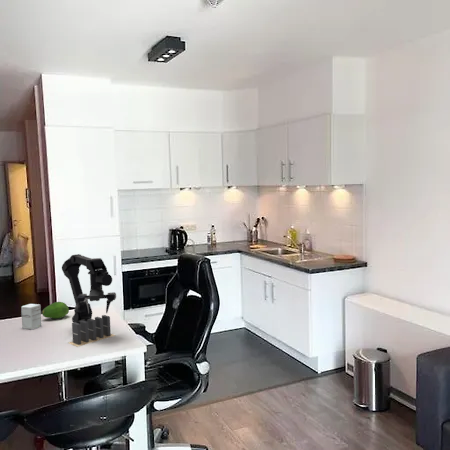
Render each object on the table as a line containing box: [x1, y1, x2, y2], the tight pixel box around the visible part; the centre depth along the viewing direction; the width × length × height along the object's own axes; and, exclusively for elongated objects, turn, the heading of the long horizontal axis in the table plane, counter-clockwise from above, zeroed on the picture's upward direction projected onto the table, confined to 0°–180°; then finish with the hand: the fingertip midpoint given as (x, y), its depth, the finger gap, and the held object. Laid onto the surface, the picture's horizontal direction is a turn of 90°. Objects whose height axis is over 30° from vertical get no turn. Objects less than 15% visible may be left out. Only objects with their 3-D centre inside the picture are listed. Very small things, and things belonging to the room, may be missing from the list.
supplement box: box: [20, 303, 42, 330], centre depth 259 cm, size 7×7×13 cm
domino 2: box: [80, 320, 89, 343], centre depth 231 cm, size 2×5×10 cm, turn 47°
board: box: [68, 333, 117, 348], centre depth 235 cm, size 22×9×1 cm, turn 137°
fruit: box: [41, 301, 70, 320], centre depth 276 cm, size 15×10×10 cm, turn 120°
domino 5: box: [101, 314, 112, 336], centre depth 240 cm, size 2×5×10 cm, turn 47°
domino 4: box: [94, 316, 104, 338], centre depth 237 cm, size 2×5×10 cm, turn 47°
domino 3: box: [87, 318, 96, 340], centre depth 234 cm, size 2×5×10 cm, turn 47°
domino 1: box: [71, 322, 81, 345], centre depth 228 cm, size 2×5×10 cm, turn 48°
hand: (97, 313), depth 236 cm, fingers open, 9 cm apart
